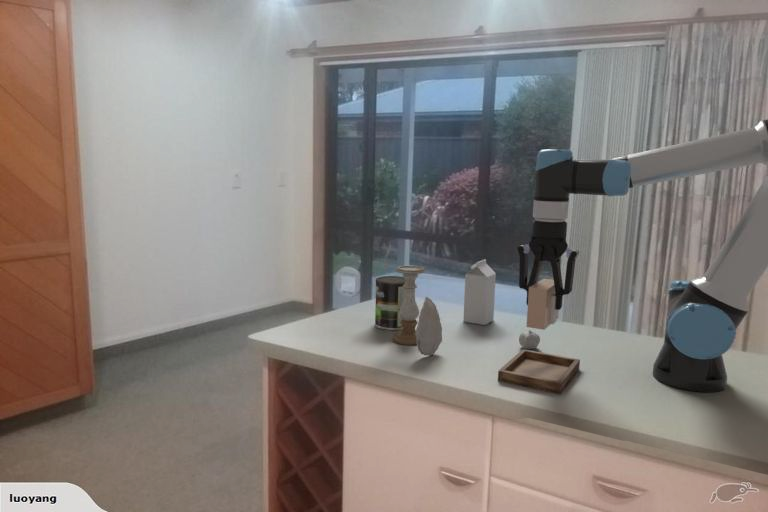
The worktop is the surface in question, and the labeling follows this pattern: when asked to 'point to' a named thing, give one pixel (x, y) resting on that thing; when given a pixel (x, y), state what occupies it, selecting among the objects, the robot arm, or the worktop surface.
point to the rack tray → (539, 371)
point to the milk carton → (479, 294)
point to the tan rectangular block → (540, 304)
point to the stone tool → (428, 329)
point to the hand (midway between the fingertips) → (542, 320)
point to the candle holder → (408, 306)
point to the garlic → (529, 340)
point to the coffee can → (389, 302)
